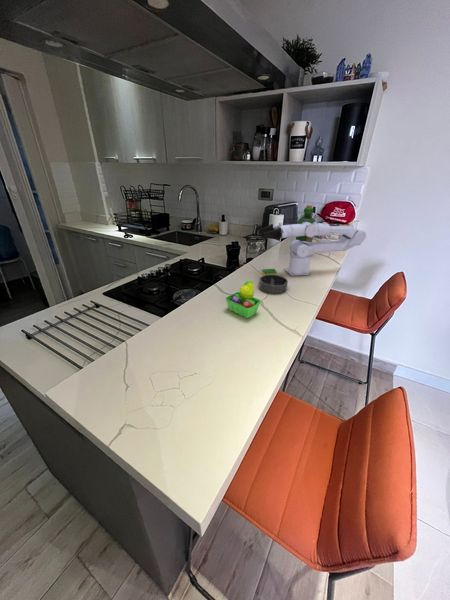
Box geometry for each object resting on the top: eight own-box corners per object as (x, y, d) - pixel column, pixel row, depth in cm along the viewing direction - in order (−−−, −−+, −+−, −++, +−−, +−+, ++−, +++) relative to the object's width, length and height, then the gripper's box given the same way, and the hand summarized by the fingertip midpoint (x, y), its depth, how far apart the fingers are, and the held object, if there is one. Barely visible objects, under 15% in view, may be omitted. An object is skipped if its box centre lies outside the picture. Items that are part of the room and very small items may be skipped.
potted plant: (312, 257, 151) (322, 207, 138) (294, 256, 151) (302, 206, 138) (307, 251, 161) (316, 204, 147) (290, 251, 161) (297, 203, 147)
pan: (281, 281, 120) (282, 274, 118) (290, 293, 109) (292, 285, 107) (255, 282, 118) (256, 275, 116) (263, 294, 108) (263, 286, 106)
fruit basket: (224, 309, 96) (224, 282, 91) (239, 301, 102) (240, 275, 97) (247, 321, 90) (249, 292, 84) (262, 312, 95) (265, 284, 90)
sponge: (261, 277, 124) (262, 269, 121) (273, 277, 124) (274, 268, 122) (264, 281, 120) (264, 272, 118) (275, 280, 121) (276, 271, 119)
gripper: (284, 219, 123) (257, 221, 122) (296, 225, 111) (266, 227, 109) (283, 234, 127) (256, 236, 125) (295, 241, 114) (266, 244, 112)
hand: (261, 233), depth 117 cm, fingers open, 7 cm apart
